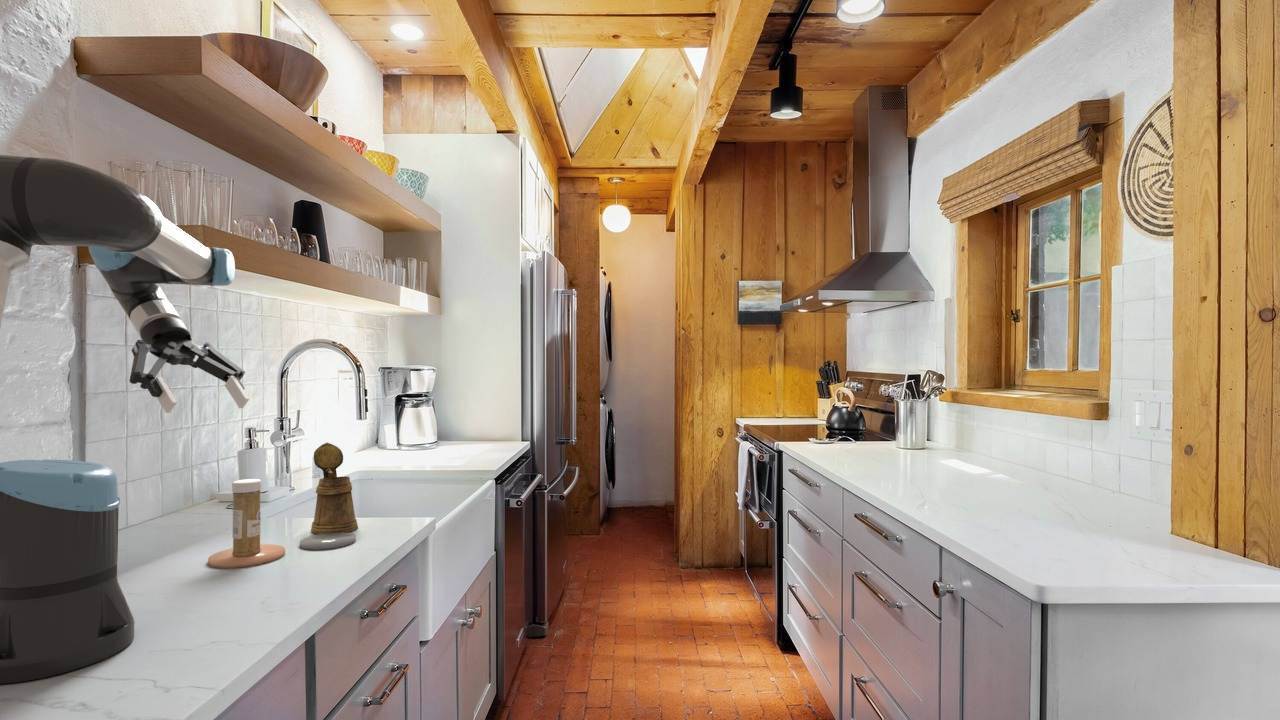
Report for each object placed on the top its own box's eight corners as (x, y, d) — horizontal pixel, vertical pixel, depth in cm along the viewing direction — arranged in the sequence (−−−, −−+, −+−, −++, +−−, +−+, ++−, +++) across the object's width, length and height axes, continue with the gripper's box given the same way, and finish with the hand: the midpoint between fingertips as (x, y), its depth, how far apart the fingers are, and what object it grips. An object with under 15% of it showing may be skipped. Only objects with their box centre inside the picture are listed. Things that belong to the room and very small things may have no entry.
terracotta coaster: (216, 572, 107) (216, 568, 107) (201, 557, 116) (201, 553, 116) (293, 557, 116) (293, 553, 116) (274, 544, 124) (274, 540, 124)
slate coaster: (309, 553, 118) (309, 549, 119) (292, 542, 126) (292, 538, 126) (363, 542, 126) (363, 538, 126) (344, 533, 133) (344, 529, 133)
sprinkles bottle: (261, 554, 115) (262, 480, 115) (231, 559, 112) (232, 483, 112) (260, 548, 119) (260, 477, 119) (231, 552, 116) (231, 479, 116)
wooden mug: (347, 518, 146) (348, 440, 146) (362, 531, 135) (362, 446, 135) (304, 524, 140) (305, 443, 141) (315, 537, 130) (316, 449, 130)
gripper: (215, 344, 139) (261, 414, 133) (78, 339, 116) (126, 424, 110) (231, 319, 137) (279, 389, 131) (95, 309, 114) (145, 394, 108)
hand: (210, 405), depth 120 cm, fingers open, 13 cm apart
